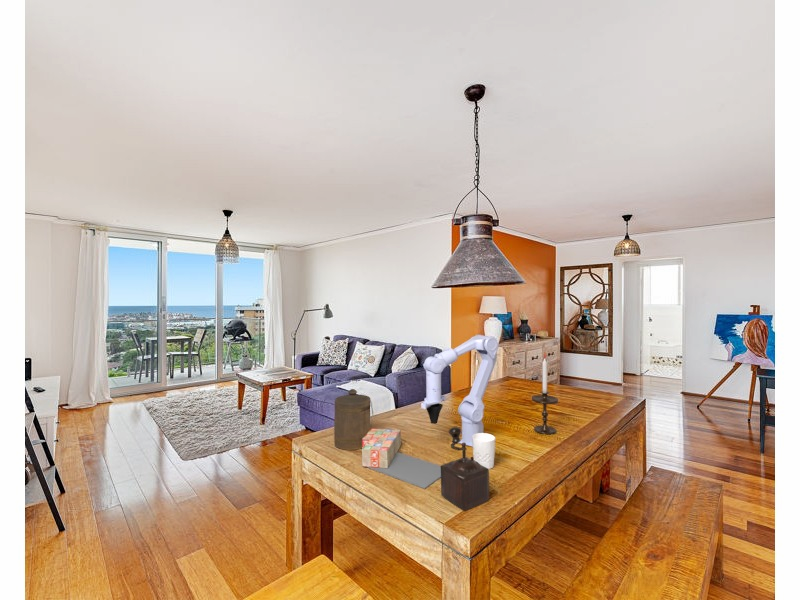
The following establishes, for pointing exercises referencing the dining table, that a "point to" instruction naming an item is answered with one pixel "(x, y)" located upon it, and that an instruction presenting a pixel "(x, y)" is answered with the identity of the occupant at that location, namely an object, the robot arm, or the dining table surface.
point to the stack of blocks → (380, 447)
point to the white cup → (484, 449)
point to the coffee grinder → (464, 478)
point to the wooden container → (351, 420)
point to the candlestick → (544, 403)
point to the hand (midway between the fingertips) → (434, 423)
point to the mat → (412, 470)
